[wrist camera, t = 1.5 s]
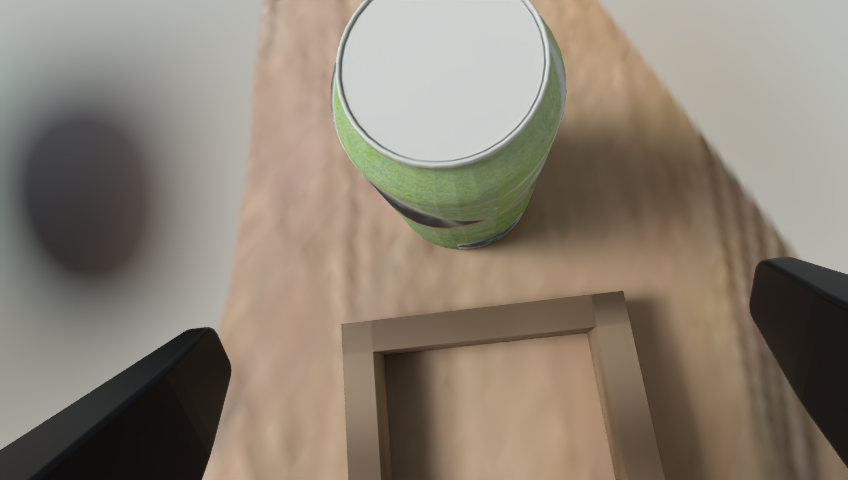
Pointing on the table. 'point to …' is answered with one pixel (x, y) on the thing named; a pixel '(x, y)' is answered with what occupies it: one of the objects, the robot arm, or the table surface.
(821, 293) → the robot arm
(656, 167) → the table surface
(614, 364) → the walnut collar
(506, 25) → the beverage can
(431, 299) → the table surface
